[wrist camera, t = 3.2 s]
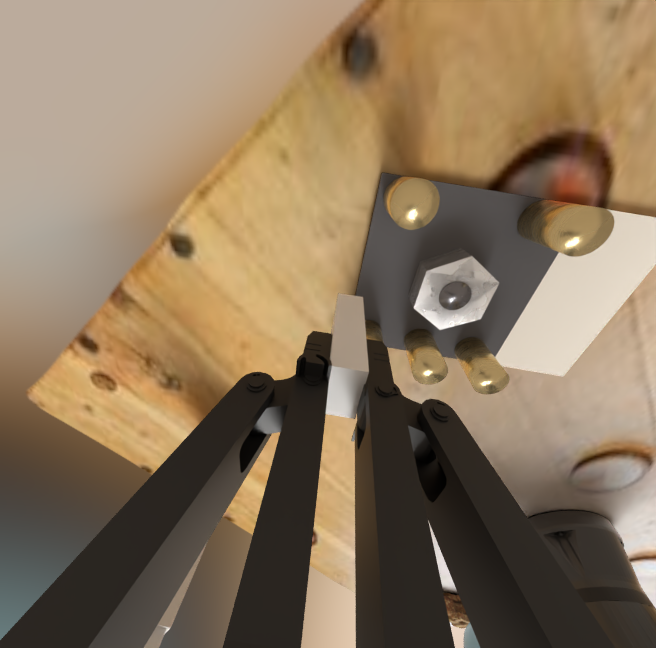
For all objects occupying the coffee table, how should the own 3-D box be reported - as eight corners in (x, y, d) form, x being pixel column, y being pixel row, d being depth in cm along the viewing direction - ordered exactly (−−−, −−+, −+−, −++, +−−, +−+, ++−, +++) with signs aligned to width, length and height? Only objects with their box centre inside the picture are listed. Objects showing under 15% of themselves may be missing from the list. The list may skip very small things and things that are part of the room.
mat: (681, 221, 20) (689, 222, 20) (559, 372, 29) (563, 376, 28) (381, 172, 20) (382, 172, 20) (346, 337, 29) (346, 340, 28)
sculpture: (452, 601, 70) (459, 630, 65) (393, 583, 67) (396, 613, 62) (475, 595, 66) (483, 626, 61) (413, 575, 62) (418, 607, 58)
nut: (482, 240, 22) (497, 248, 20) (489, 301, 25) (502, 314, 22) (400, 268, 24) (405, 278, 21) (415, 321, 26) (421, 335, 24)
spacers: (567, 202, 20) (626, 211, 16) (477, 362, 28) (499, 396, 24) (388, 173, 20) (398, 174, 16) (350, 341, 28) (350, 371, 24)
